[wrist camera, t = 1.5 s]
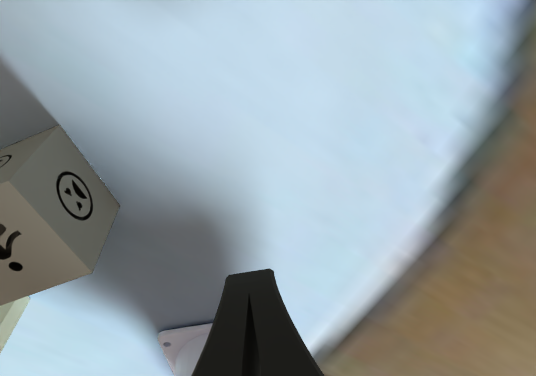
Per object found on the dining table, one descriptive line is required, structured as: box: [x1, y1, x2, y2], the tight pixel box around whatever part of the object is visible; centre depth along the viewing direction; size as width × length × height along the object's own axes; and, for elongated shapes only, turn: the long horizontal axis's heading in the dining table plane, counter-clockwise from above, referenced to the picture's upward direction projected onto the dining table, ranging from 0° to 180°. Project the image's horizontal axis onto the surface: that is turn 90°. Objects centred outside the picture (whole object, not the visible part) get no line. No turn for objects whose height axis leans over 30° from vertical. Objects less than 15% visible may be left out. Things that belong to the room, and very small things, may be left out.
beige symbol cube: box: [0, 125, 120, 306], centre depth 17 cm, size 5×5×5 cm
